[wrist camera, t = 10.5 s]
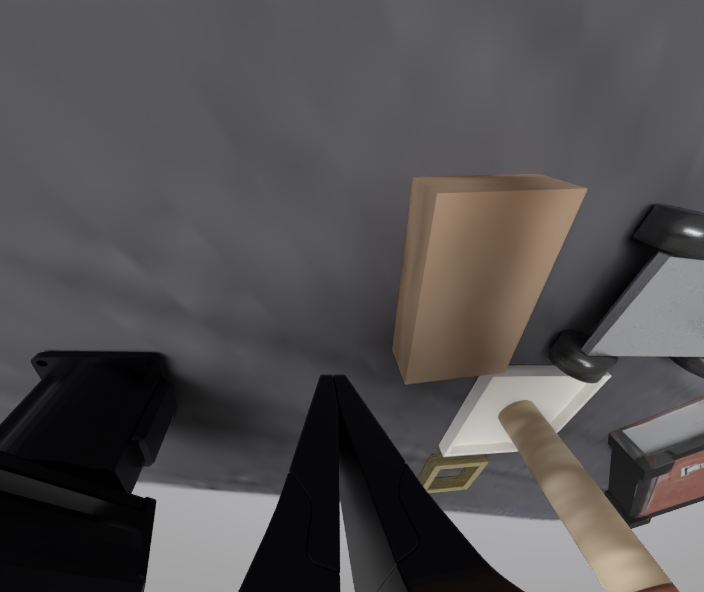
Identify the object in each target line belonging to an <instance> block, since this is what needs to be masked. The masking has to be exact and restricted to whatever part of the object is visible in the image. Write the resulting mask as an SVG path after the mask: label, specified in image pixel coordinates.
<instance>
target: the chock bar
mask: <svg viewBox="0 0 704 592" xmlns="http://www.w3.org/2000/svg"><path fill="white" fill-rule="evenodd" d="M587 189H588V188H585V187H582V186H578V185H575V184H572V183H568V182H565V181H561V180H558V179H555V178H551V177H548V176H545V175H541V174H517V175H478V176H440V177H413V180H412V188H411V196H410V205H409V213H408V222H407V230H406V239H405V247H404V255H403V264H402V272H401V281H400V289H399V298H398V306H397V314H396V323H395V331H394V340H393V348H392V351H393V354H394V356H395V359H396V362H397V364H398V367H399V370H400V372H401V375H402V378H403V381H404V383H405V385H406V384H414V383H423V382H431V381H439V380H448V379H456V378H464V377H473V376H481V375H489V374H498V373H505V371H506V369H507V367H508V365H509V362H510V360H511V358H512V356H513V353H514V351H515V349H516V347H517V345H518V342H519V340H520V338H521V336H522V334H523V331H524V329H525V327H526V325H527V322H528V320H529V318H530V316H531V314H532V311H533V309H534V307H535V305H536V302H537V300H538V298H539V296H540V294H541V291H542V289H543V287H544V285H545V282H546V280H547V278H548V276H549V274H550V271H551V269H552V267H553V265H554V262H555V260H556V258H557V256H558V254H559V251H560V249H561V247H562V245H563V243H564V240H565V238H566V236H567V234H568V231H569V229H570V227H571V225H572V223H573V220H574V218H575V216H576V214H577V211H578V209H579V207H580V205H581V203H582V200H583V198H584V196H585V194H586V191H587Z"/></svg>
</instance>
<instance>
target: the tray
mask: <svg viewBox="0 0 704 592" xmlns="http://www.w3.org/2000/svg"><path fill="white" fill-rule="evenodd" d="M611 376H612V375H610V374H609V373H608V372H607V373H606V374H605V375H604V376H603V377H602V378H601V380H600V381H599V382H597V383H585V382H582V381H579V380H576V379H574V378H572V377H570V376H568V375H567V374H565V373H564V372H562V371H561V370H559V369H558V368H557V367H556V366H555V365H508V367H507V369H506V371H505V373H498V374H489V375H481V376H479V377H478V379H477V381H476V382H475V384H474V386H473V387H472V389H471V391H470V393H469V394H468V396H467V398H466V399H465V401H464V403H463V404H462V406H461V408H460V410H459V411H458V413H457V415H456V416H455V418H454V420H453V421H452V423H451V425H450V427H449V428H448V430H447V432H446V433H445V435H444V437H443V439H442V440H441V442H440V444H439V448H440V450H441V453H442V455H443V457H449V456H462V455H476V454H489V453H503V452H516V451H518V450H517V448H516V447H515V445H514V444H513V442H512V440H511V439H510V437H509V436H508V434H507V432H506V431H505V429H504V428H503V426H502V424H501V423H500V421H499V419H498V415H499V413H500V412H501V411H502V410H503V409H504V408H505V407H506V406H508V405H510V404H512V403H514V402H517V401H521V400H529V401H532V402H533V403H534V404H535V406H536V407H537V408H538V410H539V411H540V412H541V413H542V415H543V416H544V417H545V419H546V420H547V421H548V422H549V424H550V425H551V426H552V428H553V429H554V430H555V432H556V433H558V432H559V431H560V430H561V429H562V428H563V427H564V426H565V425H566V424H567V422H568V421H569V420H570V419H571V418H572V417H573V416H574V415H575V414H576V413H577V412H578V411H579V410H580V409H581V408H582V407H583V406H584V405H585V404H586V402H587V401H588V400H589V399H590V398H591V397H592V396H593V395H594V394H595V393H596V392H597V391H598V390H599V389H600V388H601V387H602V386H603V385H604V384H605V382H606V381H607V380H608V379H609V378H610V377H611Z"/></svg>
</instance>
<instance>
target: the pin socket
mask: <svg viewBox="0 0 704 592" xmlns="http://www.w3.org/2000/svg"><path fill="white" fill-rule="evenodd" d="M488 463H489V461H488V459H487V457H486V455H485V454H476V455H462V456H449V457H443V455H442V454H433V455H431V456H430V458H429V460H428V461H427V463H426V465H425V467H424V468H423V470H422V472H421V473H420V475H419V477H418V480H419V481H420V483H421V484H422V485H423V487H424V488H425V489H426V491H427V492H428V493H435V492H445V491H454V490H464V489H468V487H469V486H470V485H471V484H472V482H473V481H474V480H475V479H476V477H477V476H478V475H479V474H480V472H481V471H482V470H483V469H484V468H485V466H486V465H487V464H488ZM463 467H465V469H464V470H463V471H462V473H461V474H460V475H459V476H453V477H442V478H435V477H436V475H437V474H438V472H439V471H440V469H451V468H463Z"/></svg>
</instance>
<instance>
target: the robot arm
mask: <svg viewBox="0 0 704 592" xmlns="http://www.w3.org/2000/svg"><path fill="white" fill-rule="evenodd" d="M31 364H32V365H33V367H34V368H35V370H36V372H37V373H38V375H39V376H40V378H41V381H40V382H39V383H38V384H37V385H36V386H35V388H34V389H33V390H32V391H31V392H30V393H29V394H28V395H27V396H26V397H25V398H24V399H23V400H22V402H21V403H20V404H19V405H18V406H17V407H16V408H15V409H14V410H13V411H12V412H11V413H10V414H9V416H8V417H7V418H6V419H5V420H4V421H3V422H2V423H1V424H0V592H144V588H145V583H146V574H147V568H148V560H149V552H150V545H151V538H152V530H153V523H154V515H155V507H156V500H155V499H152V498H149V497H145V498H143V497H140V496H137V495H133V494H131V493H132V491H133V489H134V486H135V484H136V482H137V479H138V477H139V475H140V472H141V470H142V468H143V467H149V466H151V465H152V464H153V463H154V462H155V459H156V457H157V454H158V452H159V449H160V447H161V444H162V442H163V439H164V437H165V434H166V432H167V430H168V427H169V425H170V422H171V421H173V420H174V418H175V415H176V407H177V404H176V401H175V397H174V393H173V389H172V386H171V383H170V382H169V381H168V380H167V377H166V373H165V369H164V366H163V362H162V359H161V357H160V356H159V355H157V354H154V353H82V352H41V353H38V354H37V355H36V356H34V357H33V358H32V360H31ZM339 494H340V501H341V507H342V513H343V520H344V526H345V532H346V538H347V545H348V550H349V558H350V564H351V570H352V576H353V583H354V589H355V592H524V591H523V590H521V589H520V588H518V587H517V586H515V585H514V584H512V583H511V582H509V581H508V580H507V579H506V578H504V577H503V576H502V575H500V574H499V573H498V572H497V571H496V570H495V569H494V568H492V567H491V566H490V565H489V564H488V563H487V562H486V561H485V560H484V559H483V558H482V556H481V555H480V554H479V553H478V552H477V551H476V550H475V548H474V547H473V546H472V545H471V544H470V543H469V541H468V540H467V539H466V538H465V537H464V535H463V534H462V533H461V532H460V531H459V530H458V528H457V527H456V526H455V525H454V524H453V522H452V521H451V520H450V519H449V518H448V516H447V515H446V514H445V513H444V512H443V510H442V509H441V508H440V507H439V506H438V504H437V503H436V502H435V501H434V499H433V498H432V497H431V496H430V495H429V493H428V492H427V491H426V489H425V488H424V487H423V485H422V484H421V483H420V481H419V480H418V479H417V477H416V476H415V474H414V473H413V472H412V470H411V469H410V467H409V466H408V464H405V460H404V459H403V457H402V456H401V454H400V453H399V452H398V450H397V449H396V447H395V446H394V444H393V443H392V441H391V440H390V439H389V437H388V436H387V434H386V433H385V431H384V430H383V429H382V427H381V426H380V424H379V423H378V421H377V420H376V419H375V417H374V416H373V414H372V413H371V411H370V410H369V408H368V407H367V406H366V404H365V403H364V401H363V400H362V398H361V397H360V396H359V394H358V393H357V391H356V390H355V388H354V387H353V385H352V384H351V383H350V381H349V380H348V378H347V377H346V376H345V375H333V376H332V375H321V376H320V378H319V381H318V384H317V387H316V390H315V393H314V396H313V399H312V402H311V405H310V408H309V411H308V414H307V417H306V420H305V424H304V427H303V430H302V433H301V436H300V439H299V442H298V445H297V448H296V451H295V454H294V457H293V460H292V463H291V466H290V469H289V473H288V475H287V478H286V481H285V484H284V487H283V490H282V493H281V496H280V498H279V501H278V504H277V507H276V509H275V512H274V514H273V517H272V519H271V521H270V523H269V526H268V528H267V530H266V533H265V535H264V537H263V539H262V542H261V544H260V546H259V548H258V550H257V552H256V554H255V557H254V559H253V561H252V563H251V565H250V567H249V570H248V572H247V574H246V576H245V579H244V581H243V583H242V585H241V587H240V589H239V591H238V592H340V575H339V573H340V518H339V517H340V511H339Z"/></svg>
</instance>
